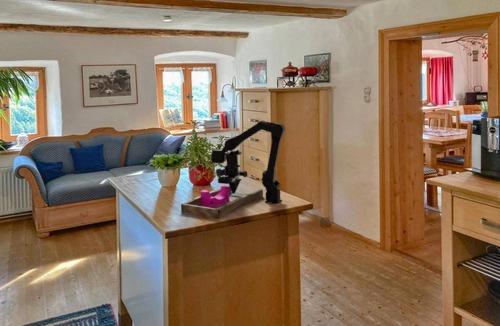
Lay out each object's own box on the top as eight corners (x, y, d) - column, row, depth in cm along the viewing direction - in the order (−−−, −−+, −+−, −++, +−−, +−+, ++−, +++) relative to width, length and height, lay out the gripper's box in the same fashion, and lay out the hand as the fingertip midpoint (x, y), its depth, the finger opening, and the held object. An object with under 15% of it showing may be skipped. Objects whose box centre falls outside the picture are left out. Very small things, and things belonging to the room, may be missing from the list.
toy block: (208, 208, 218) (207, 193, 216) (201, 205, 222) (200, 190, 221) (232, 201, 227) (232, 187, 226) (224, 199, 232) (224, 185, 230)
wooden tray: (262, 196, 235) (262, 188, 234) (217, 218, 201) (217, 209, 200) (229, 192, 246) (229, 184, 245) (181, 212, 212) (180, 203, 211)
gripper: (229, 158, 239) (231, 187, 242) (208, 165, 223) (210, 196, 226) (247, 160, 233) (248, 189, 236) (226, 167, 217) (228, 198, 220)
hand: (233, 193), depth 230 cm, fingers closed
